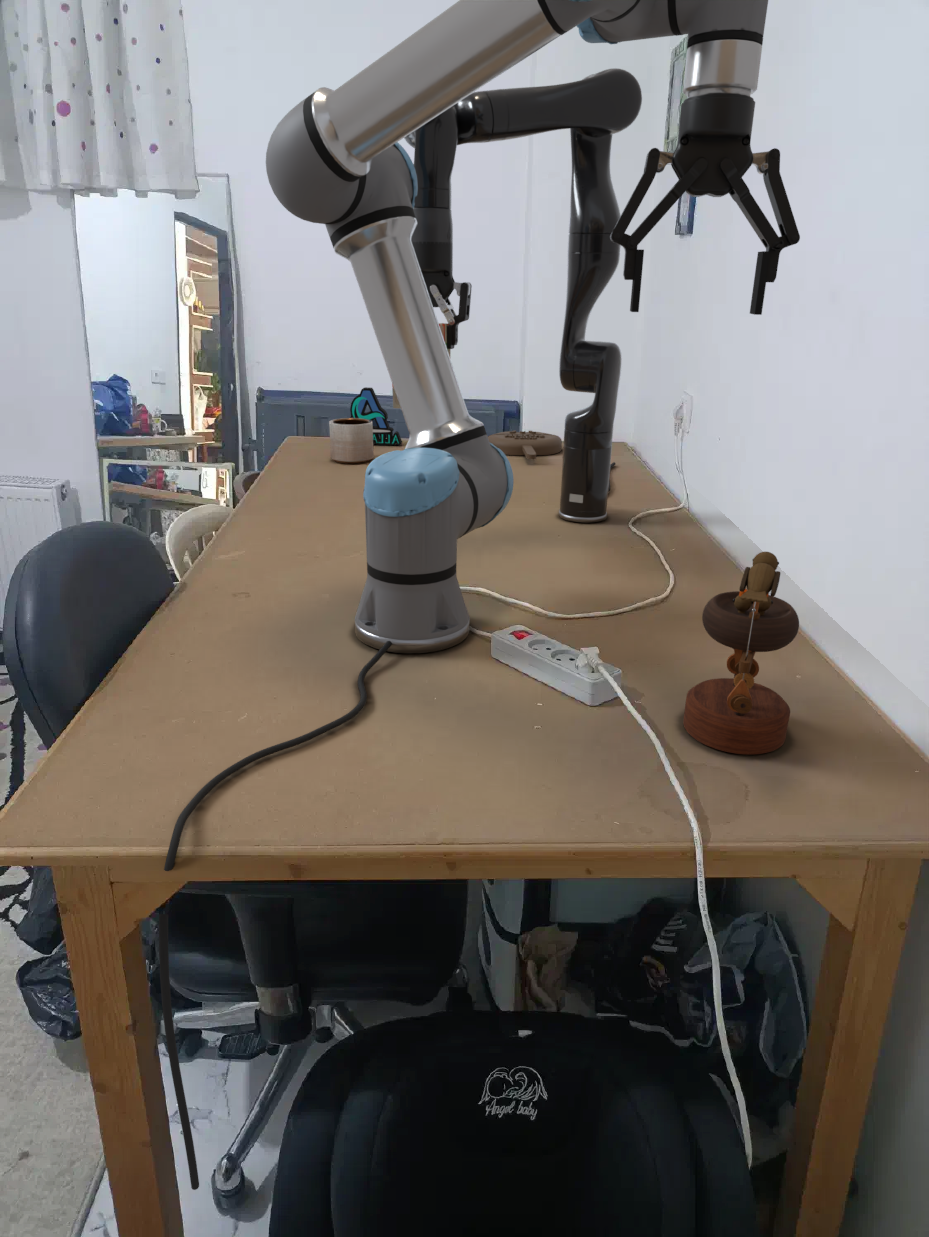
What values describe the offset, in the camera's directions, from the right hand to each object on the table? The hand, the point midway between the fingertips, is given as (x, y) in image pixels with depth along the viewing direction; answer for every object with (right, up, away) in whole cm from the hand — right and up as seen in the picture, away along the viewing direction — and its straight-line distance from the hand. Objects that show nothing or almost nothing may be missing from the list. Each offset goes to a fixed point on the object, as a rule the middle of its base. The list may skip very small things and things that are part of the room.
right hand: (429, 347), depth 143 cm
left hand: (+32, -11, -46) cm, 57 cm away
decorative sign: (-21, +2, +91) cm, 94 cm away
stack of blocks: (-1, -11, -5) cm, 11 cm away
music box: (+35, -57, -52) cm, 85 cm away
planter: (-23, -6, +72) cm, 75 cm away
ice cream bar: (+22, -2, +82) cm, 85 cm away
